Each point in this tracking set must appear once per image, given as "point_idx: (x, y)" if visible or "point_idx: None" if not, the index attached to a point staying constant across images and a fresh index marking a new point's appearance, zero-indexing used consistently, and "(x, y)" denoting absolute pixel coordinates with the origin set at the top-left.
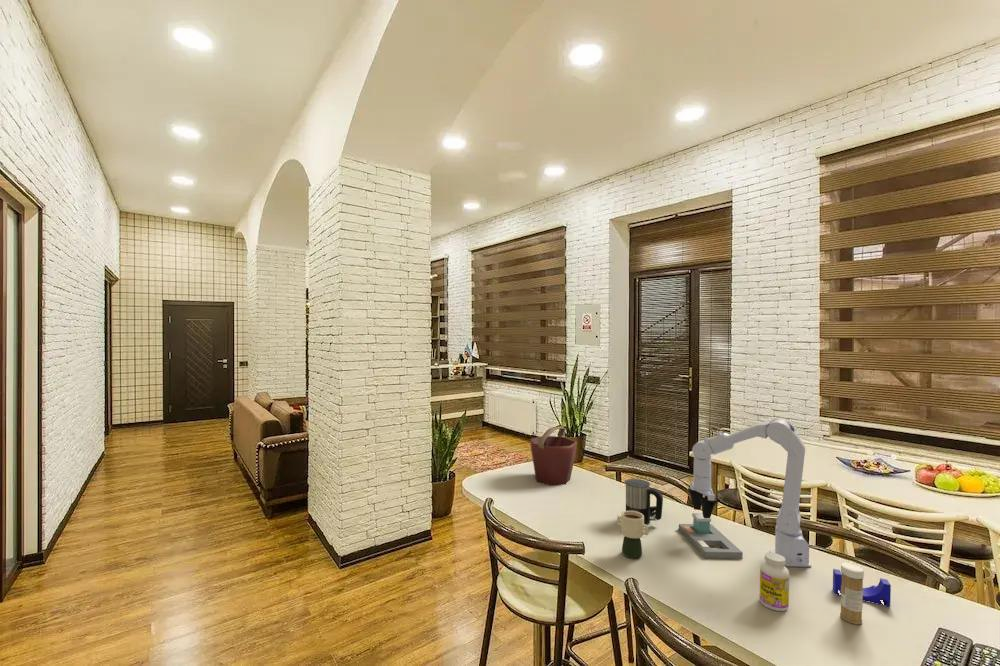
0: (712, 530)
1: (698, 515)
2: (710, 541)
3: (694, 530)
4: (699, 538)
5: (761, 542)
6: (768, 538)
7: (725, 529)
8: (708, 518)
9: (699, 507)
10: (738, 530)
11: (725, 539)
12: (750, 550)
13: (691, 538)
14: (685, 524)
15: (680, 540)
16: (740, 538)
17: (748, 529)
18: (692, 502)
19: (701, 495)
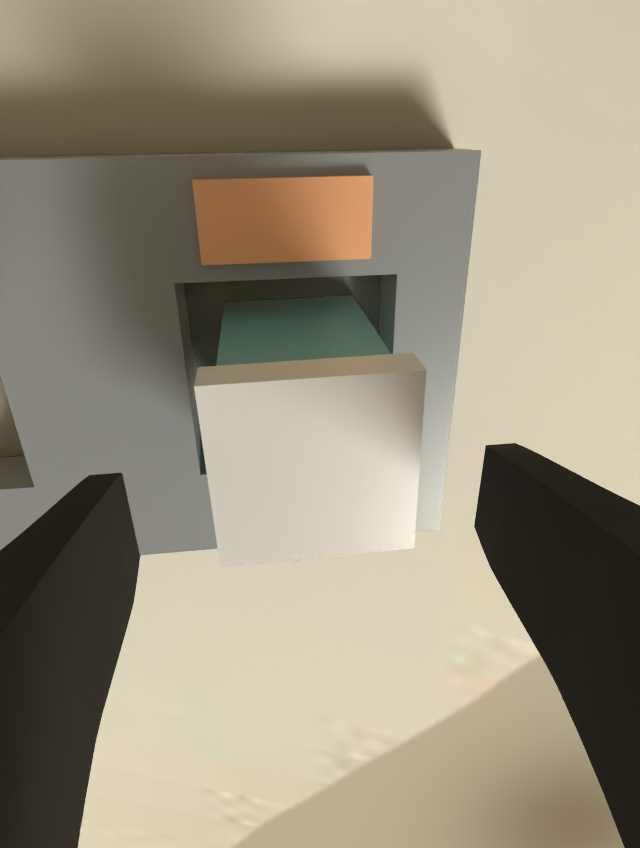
0: None
1: (334, 436)
2: (8, 377)
3: (327, 309)
4: (23, 264)
5: (208, 732)
6: (278, 776)
7: (424, 598)
8: (224, 537)
9: (490, 539)
10: (402, 668)
11: None
12: None
13: (39, 158)
14: (452, 243)
15: (116, 21)
16: (260, 642)
17: (416, 722)
18: (594, 486)
19: (618, 781)
